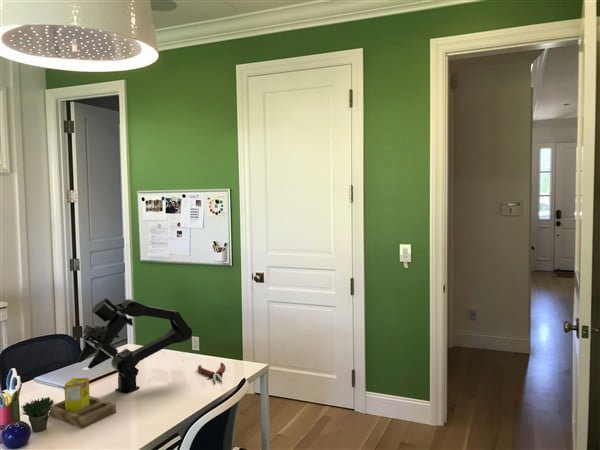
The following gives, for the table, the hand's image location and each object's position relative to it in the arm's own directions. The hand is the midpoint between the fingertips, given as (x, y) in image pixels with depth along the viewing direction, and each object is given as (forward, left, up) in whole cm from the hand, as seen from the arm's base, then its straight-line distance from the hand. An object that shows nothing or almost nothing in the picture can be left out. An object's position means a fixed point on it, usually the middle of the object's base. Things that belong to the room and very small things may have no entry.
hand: (83, 365), depth 172 cm
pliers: (-22, -43, -14) cm, 50 cm away
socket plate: (-8, +7, -14) cm, 17 cm away
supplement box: (-5, +6, -14) cm, 16 cm away
